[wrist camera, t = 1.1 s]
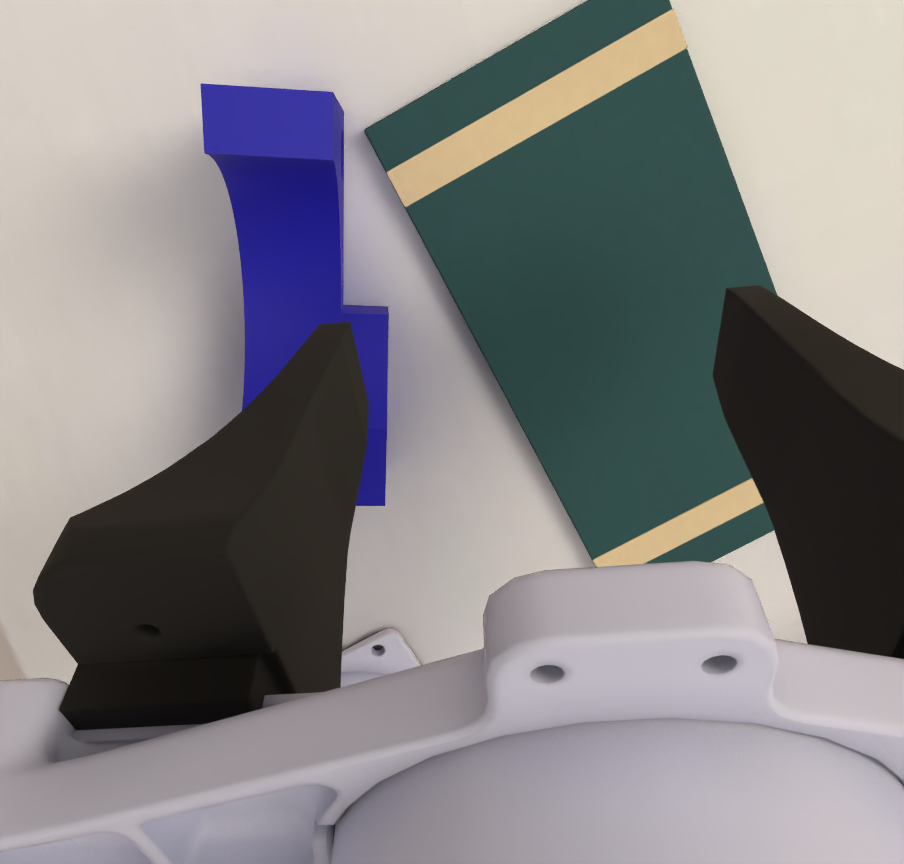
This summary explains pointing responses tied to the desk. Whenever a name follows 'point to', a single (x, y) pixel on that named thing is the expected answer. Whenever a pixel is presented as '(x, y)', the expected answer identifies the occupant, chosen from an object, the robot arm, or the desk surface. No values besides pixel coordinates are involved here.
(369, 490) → the cable clip
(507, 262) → the cloth
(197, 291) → the desk surface
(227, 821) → the robot arm
